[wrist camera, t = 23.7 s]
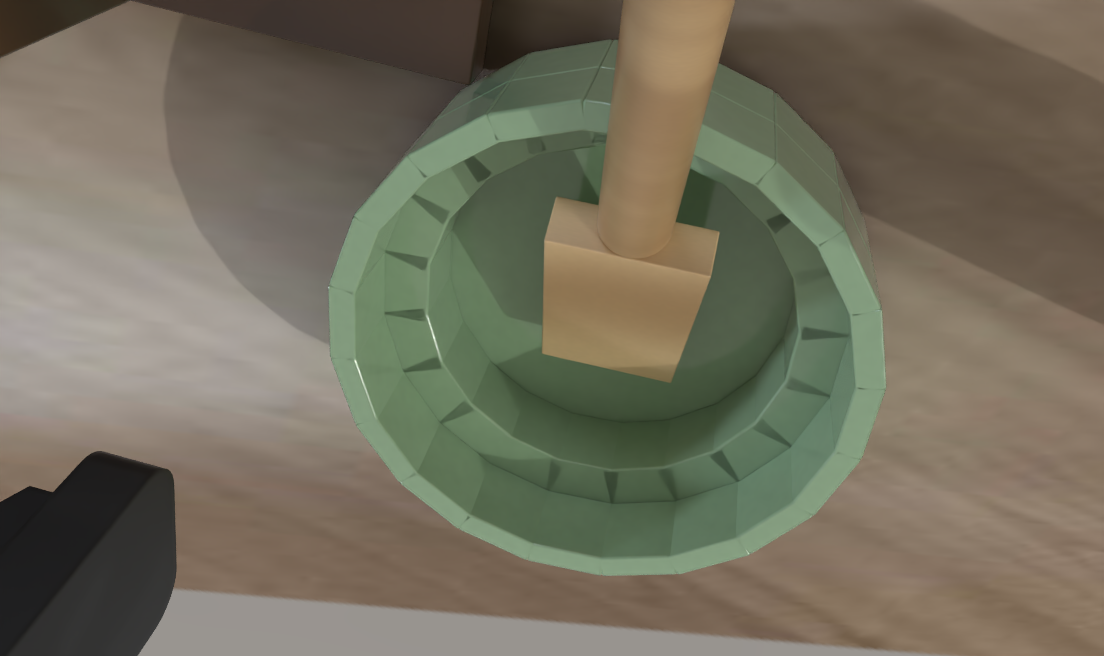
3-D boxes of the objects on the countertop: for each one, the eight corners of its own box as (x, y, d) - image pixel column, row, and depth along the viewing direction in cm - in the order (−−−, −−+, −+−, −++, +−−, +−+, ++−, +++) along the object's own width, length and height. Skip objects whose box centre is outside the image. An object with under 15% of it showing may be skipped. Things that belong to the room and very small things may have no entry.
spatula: (895, -211, 12) (910, -314, 13) (555, -272, 13) (588, -368, 14) (670, 383, 33) (682, 329, 33) (541, 354, 33) (555, 301, 34)
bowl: (305, 170, 33) (222, 251, 28) (737, -65, 27) (731, -15, 22) (538, 506, 39) (504, 622, 34) (938, 376, 33) (968, 495, 28)
